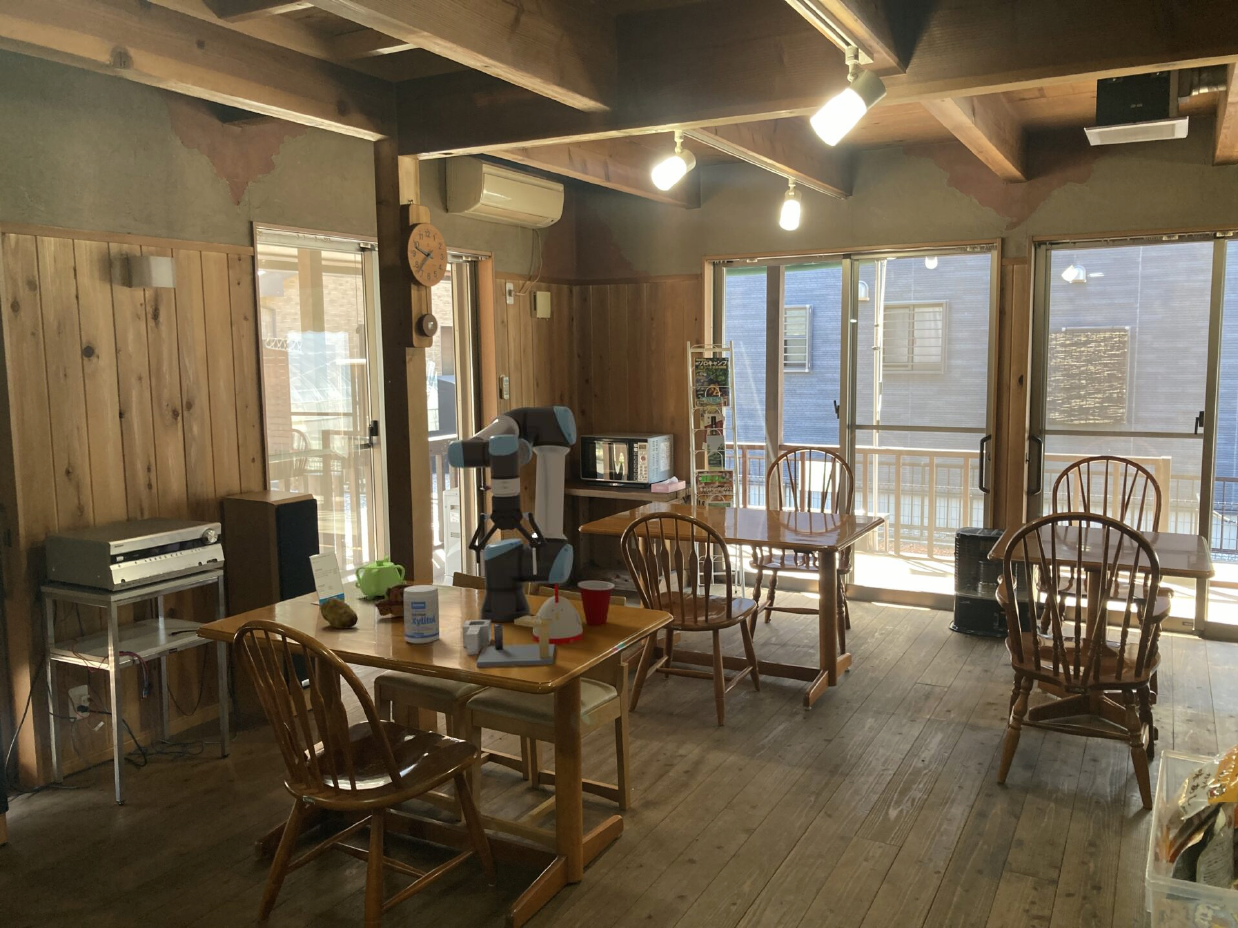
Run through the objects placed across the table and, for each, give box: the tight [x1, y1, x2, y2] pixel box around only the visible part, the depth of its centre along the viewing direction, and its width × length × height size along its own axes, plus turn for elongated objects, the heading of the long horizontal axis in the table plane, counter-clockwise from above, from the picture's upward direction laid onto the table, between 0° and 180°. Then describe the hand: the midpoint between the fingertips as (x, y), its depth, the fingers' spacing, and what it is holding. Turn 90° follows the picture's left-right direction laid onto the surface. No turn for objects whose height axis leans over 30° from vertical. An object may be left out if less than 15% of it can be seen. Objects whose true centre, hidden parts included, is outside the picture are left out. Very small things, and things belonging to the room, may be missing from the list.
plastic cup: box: [577, 580, 615, 627], centre depth 281 cm, size 11×11×12 cm
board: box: [476, 644, 556, 668], centre depth 249 cm, size 14×19×1 cm
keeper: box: [513, 615, 553, 658], centre depth 246 cm, size 5×9×9 cm, turn 56°
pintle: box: [493, 623, 504, 650], centre depth 253 cm, size 2×2×6 cm
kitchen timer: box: [532, 583, 584, 645], centre depth 267 cm, size 14×14×15 cm
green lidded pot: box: [354, 554, 408, 601], centre depth 324 cm, size 16×14×13 cm
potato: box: [320, 597, 359, 629], centre depth 285 cm, size 8×13×8 cm, turn 36°
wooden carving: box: [374, 583, 417, 617], centre depth 296 cm, size 16×5×10 cm, turn 116°
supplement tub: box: [403, 584, 440, 644], centre depth 268 cm, size 10×10×15 cm
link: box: [462, 619, 493, 656], centre depth 260 cm, size 15×7×6 cm, turn 1°
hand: (509, 574), depth 251 cm, fingers open, 13 cm apart
